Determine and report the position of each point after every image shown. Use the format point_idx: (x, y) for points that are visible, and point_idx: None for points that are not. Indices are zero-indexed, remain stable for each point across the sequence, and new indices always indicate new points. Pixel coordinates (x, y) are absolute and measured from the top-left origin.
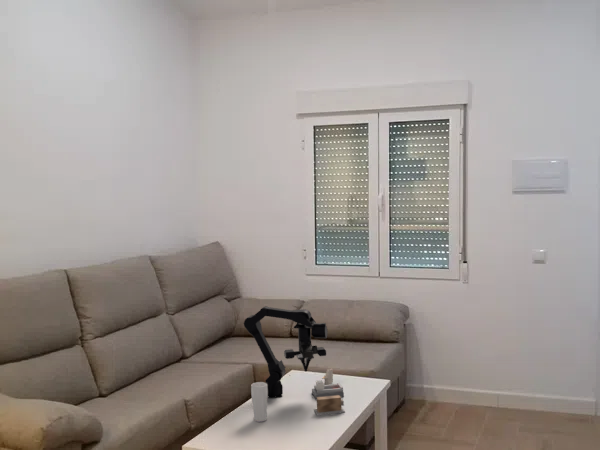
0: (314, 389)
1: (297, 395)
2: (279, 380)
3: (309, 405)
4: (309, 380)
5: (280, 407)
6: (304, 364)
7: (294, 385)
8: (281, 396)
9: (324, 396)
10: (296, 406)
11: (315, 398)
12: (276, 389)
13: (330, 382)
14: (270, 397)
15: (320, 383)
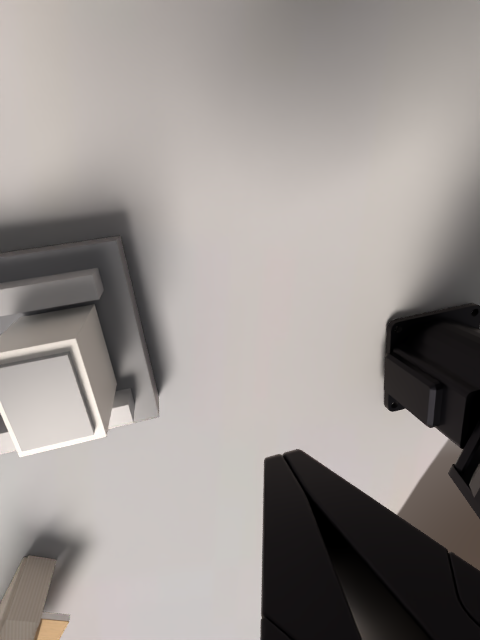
0: (133, 398)
1: (276, 345)
2: (477, 432)
3: (186, 54)
4: (174, 618)
5: (444, 61)
6: (423, 582)
7: None
8: (393, 320)
9: (23, 250)
10: (313, 54)
11: (125, 257)
12: (467, 340)
13: (4, 598)
14: (464, 305)
15: (33, 352)
